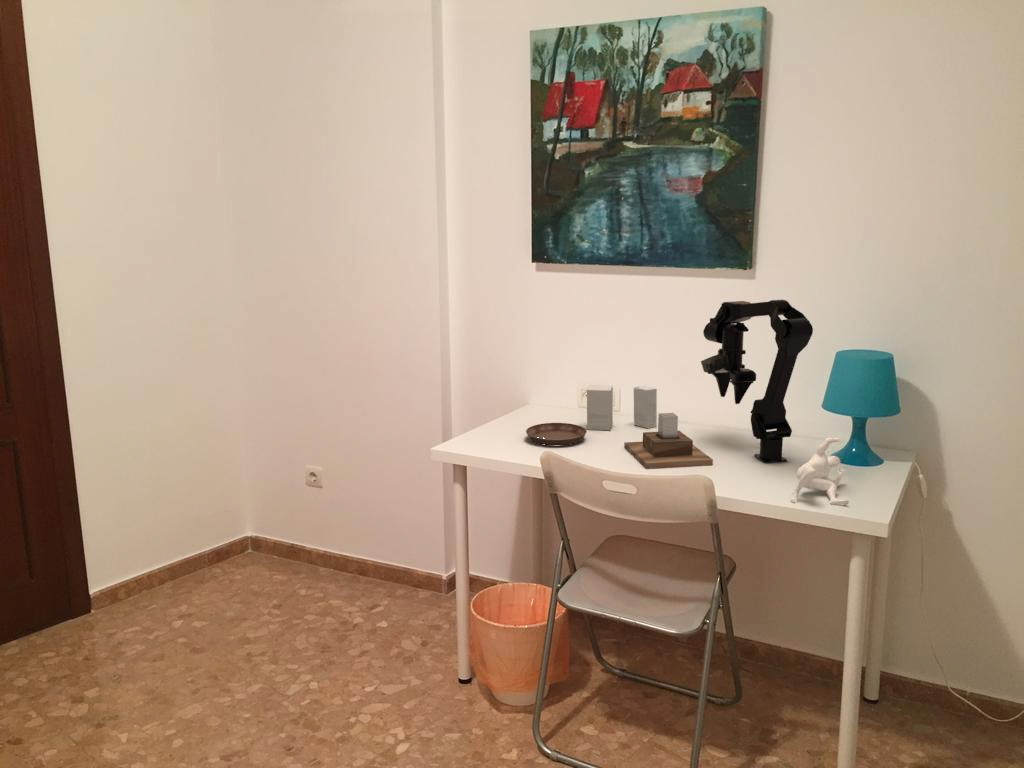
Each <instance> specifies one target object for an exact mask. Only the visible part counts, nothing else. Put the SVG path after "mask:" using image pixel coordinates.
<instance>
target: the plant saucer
mask: <svg viewBox="0 0 1024 768" xmlns="http://www.w3.org/2000/svg"><path fill="white" fill-rule="evenodd" d="M587 432H588V430H587V429H586V428H585V427H584V426H581V425H578V424H573V423H567V422H545V423H539V424H538V423H537V424H534V425H532V426H529V427H527V429H526V430H525V433H526V435H527V436H528V437H529V439H530V440H531V441H532V442H533V441H534V442H533V443H535V442H536V443H535V444H537V443H539V444H538V445H540V444H545V445H568V446H571V445H570V444H573V445H575V443H576V444H578V443H579V441H580V442H581V440H583V438H584V437H585V436H586V434H587ZM537 437H539V438H537ZM543 437H544V438H545V439H543ZM545 445H544V446H545Z"/></svg>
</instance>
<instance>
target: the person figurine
mask: <svg viewBox="0 0 1024 768" xmlns="http://www.w3.org/2000/svg"><path fill="white" fill-rule="evenodd" d="M833 443H837V444H838V443H840V438H839V437H826V438H825V439H824V440H823V443H820V444H818V446H817V448H816V450H815V452H814V454H813V455H812V456H811V457H810V458H809V461H807V462H805V463H803V464H802V466H800V467H799V468H797V469H798V470H797V473H796V478H797V479H798V484H796V487H795V488H794V489H793V492H792V493H791V496H790V502H792V503H793V502H794V504H797V503H798V501H799V500H798V498H799V497H798V496H799V493H800V491H801V490H802V489H803V488H805V489H808V490H817V491H826V495H827V496H828V498H829V502H830V504H831V505H833V504H843V505H846V506H847V505H849V503H850V500H848V499H840V498H839V499H838V498H837V496H836V493H837V490H838V486H839V484H840V482H841V481H842V478H843V476H844V473H845V470H844V469H842V468H839V469H837V477H836V478H835V479H834V480H833V479H832V478H830V477H829V474H830V468H834V467H838V466H839V465H840V464H841V459H840V458H839V457H838V456H837V455H828V457H827V456H826V452H827V450H828V449H829V447H830V445H832V444H833ZM796 502H797V503H796Z"/></svg>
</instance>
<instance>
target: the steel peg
mask: <svg viewBox="0 0 1024 768" xmlns="http://www.w3.org/2000/svg"><path fill="white" fill-rule="evenodd" d="M657 418H658V422H657V424H658V425H657V426H658V427H657V428H658V429H657V432H658V437H659V438H660V439H661V440H662V439H677V431H679V429H678V427H679V424H678V423H679V416H678V415H677V414H676V413H674V412H664V413H663V412H661V413H658V416H657Z"/></svg>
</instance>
